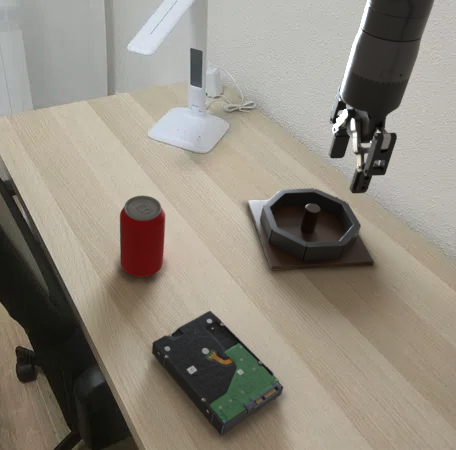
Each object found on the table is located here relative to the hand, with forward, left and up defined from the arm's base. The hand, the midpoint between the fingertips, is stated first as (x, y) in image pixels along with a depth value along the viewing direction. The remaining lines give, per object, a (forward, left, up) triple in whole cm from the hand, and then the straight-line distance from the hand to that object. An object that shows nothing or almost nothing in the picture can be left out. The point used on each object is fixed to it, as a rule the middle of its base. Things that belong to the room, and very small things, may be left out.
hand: (346, 173), depth 78 cm
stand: (0, -7, -18) cm, 19 cm away
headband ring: (0, -7, -17) cm, 18 cm away
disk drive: (+21, +20, -18) cm, 34 cm away
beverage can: (+29, -1, -18) cm, 34 cm away
